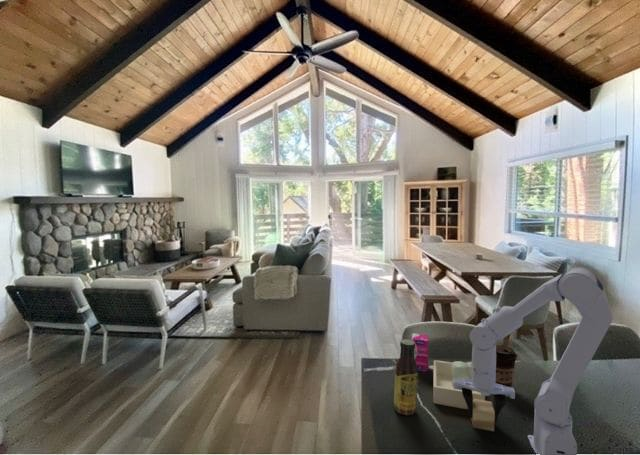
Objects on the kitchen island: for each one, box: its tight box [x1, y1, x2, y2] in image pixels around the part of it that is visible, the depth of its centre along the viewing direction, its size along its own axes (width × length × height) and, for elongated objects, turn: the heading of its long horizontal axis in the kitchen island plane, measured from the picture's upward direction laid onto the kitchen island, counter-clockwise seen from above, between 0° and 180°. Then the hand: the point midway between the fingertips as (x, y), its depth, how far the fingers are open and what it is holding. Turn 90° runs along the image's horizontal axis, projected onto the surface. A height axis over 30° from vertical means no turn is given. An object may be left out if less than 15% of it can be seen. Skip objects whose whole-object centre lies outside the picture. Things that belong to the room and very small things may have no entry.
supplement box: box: [411, 332, 430, 373], centre depth 116 cm, size 6×6×12 cm
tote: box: [432, 359, 486, 410], centre depth 102 cm, size 18×14×5 cm
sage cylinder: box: [451, 360, 469, 390], centre depth 103 cm, size 5×5×7 cm
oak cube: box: [470, 399, 495, 432], centre depth 87 cm, size 5×5×5 cm
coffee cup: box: [495, 344, 518, 388], centre depth 103 cm, size 9×8×13 cm
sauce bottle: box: [393, 338, 419, 416], centre depth 92 cm, size 7×6×20 cm
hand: (482, 418), depth 87 cm, fingers closed on oak cube, 5 cm apart
